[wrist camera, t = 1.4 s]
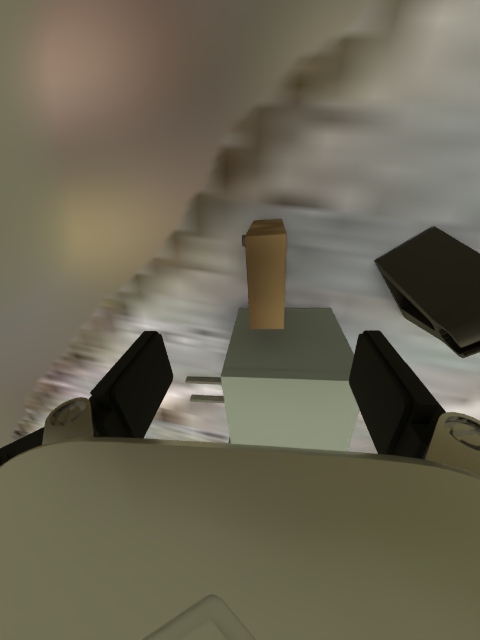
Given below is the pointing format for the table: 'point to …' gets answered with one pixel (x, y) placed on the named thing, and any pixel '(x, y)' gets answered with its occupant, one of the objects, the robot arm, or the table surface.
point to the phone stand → (437, 288)
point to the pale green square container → (288, 383)
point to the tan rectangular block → (266, 273)
